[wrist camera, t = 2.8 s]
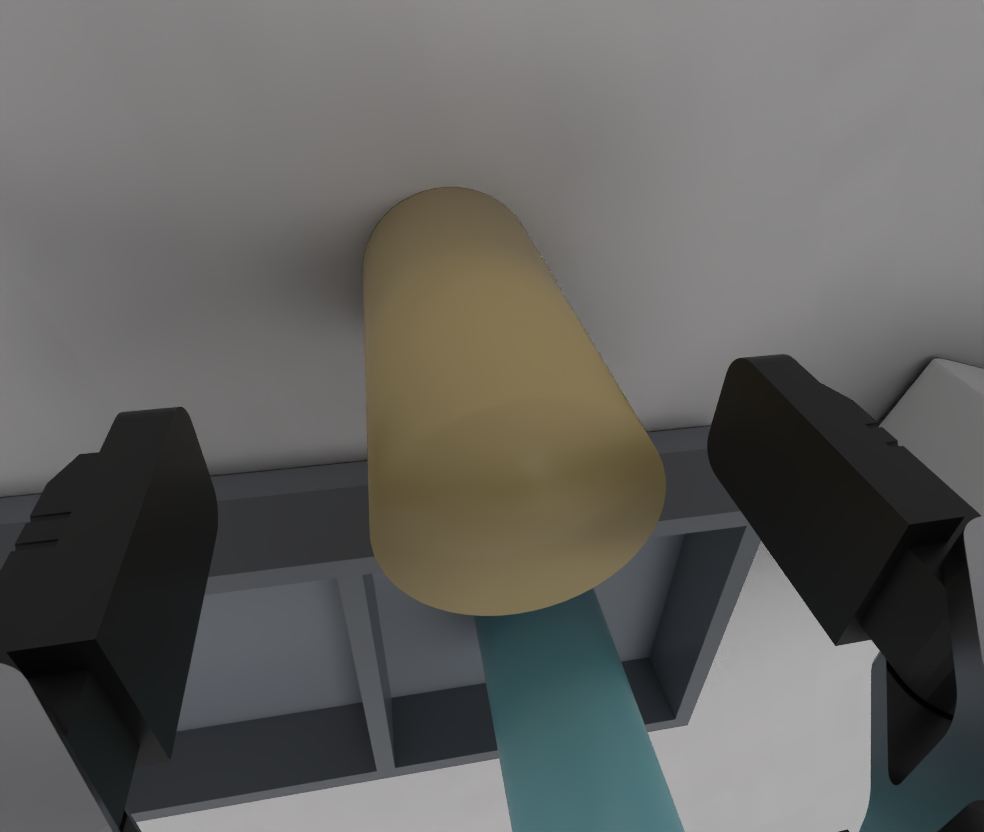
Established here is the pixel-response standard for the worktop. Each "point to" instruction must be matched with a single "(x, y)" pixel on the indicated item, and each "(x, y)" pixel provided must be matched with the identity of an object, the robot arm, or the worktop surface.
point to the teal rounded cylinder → (570, 724)
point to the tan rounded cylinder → (492, 418)
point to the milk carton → (945, 426)
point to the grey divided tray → (399, 637)
